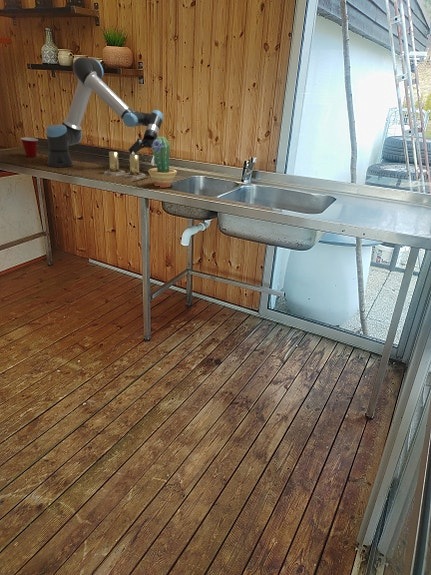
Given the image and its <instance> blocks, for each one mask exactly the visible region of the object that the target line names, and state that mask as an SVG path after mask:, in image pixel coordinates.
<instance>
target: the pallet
mask: <svg viewBox="0 0 431 575" xmlns="http://www.w3.org/2000/svg"><path fill="white" fill-rule="evenodd" d="M100 175H102V176H106V177H112V178H120V179H125V180H132V183H136V182H140V181H143V180H144V181H145V180H147V179H149V176H148V175H146V174H145V173H140V172H139V175H138V176H133V175H130V172H126V171H125V170H121V169H119V172H117V173H114V172H110V169H108V170H103V173H102V174H100Z"/></svg>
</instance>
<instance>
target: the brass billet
mask: <svg viewBox="0 0 431 575" xmlns="http://www.w3.org/2000/svg"><path fill="white" fill-rule="evenodd" d="M129 160H130V161H129V173H130V175H133V176H138V175H139V173H140V155H139V154H136V153H135V154H131V153H130V154H129Z"/></svg>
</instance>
